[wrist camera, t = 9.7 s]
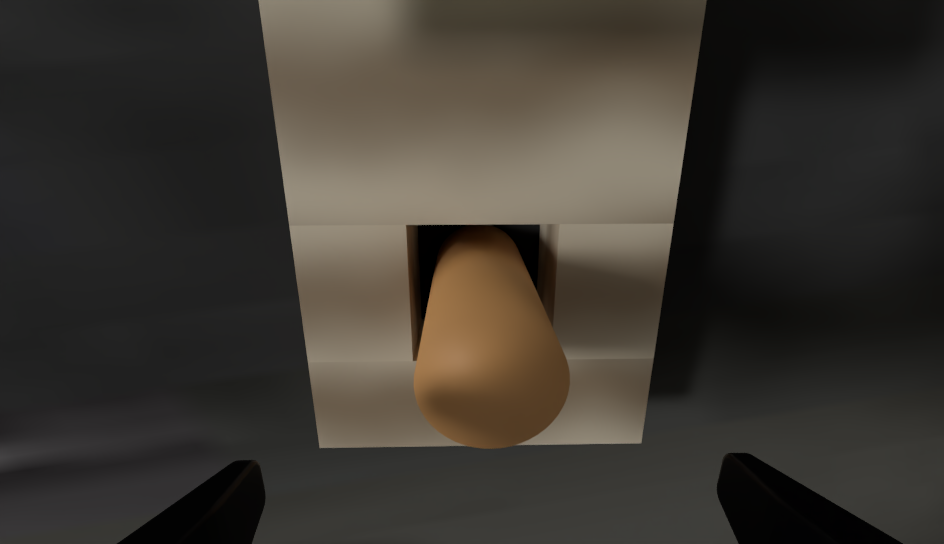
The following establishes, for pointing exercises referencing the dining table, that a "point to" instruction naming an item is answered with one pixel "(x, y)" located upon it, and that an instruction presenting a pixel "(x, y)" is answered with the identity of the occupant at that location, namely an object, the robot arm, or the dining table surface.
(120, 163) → the dining table surface
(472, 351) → the peg
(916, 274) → the dining table surface
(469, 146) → the socket block
